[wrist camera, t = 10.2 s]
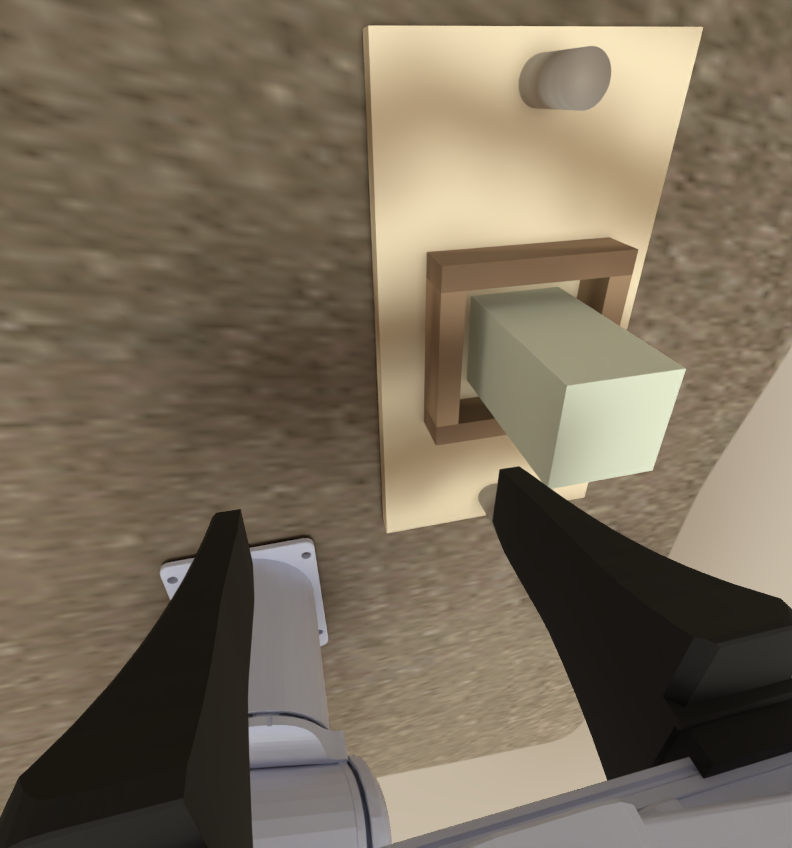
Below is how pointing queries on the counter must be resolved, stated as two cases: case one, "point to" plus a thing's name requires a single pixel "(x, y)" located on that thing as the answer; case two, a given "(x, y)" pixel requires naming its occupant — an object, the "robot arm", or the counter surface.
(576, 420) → the sage peg
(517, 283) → the socket plate
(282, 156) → the counter surface
